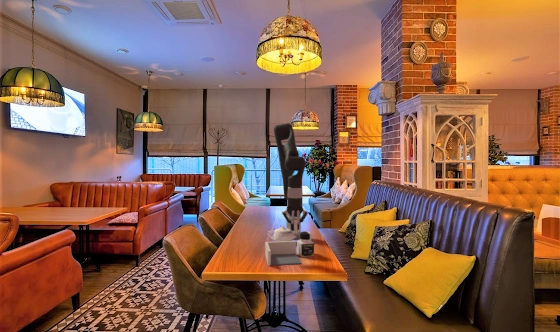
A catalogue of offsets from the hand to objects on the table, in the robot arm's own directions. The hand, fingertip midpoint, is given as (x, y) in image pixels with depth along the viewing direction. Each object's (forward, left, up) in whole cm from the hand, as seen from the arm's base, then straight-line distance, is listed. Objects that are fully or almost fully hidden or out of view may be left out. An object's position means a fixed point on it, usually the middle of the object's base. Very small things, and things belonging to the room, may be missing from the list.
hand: (294, 230), depth 148 cm
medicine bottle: (-7, +7, -15) cm, 18 cm away
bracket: (0, -3, -2) cm, 4 cm away
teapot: (-31, -1, -15) cm, 35 cm away
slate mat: (-1, -5, -15) cm, 16 cm away
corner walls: (-1, -5, -15) cm, 16 cm away
